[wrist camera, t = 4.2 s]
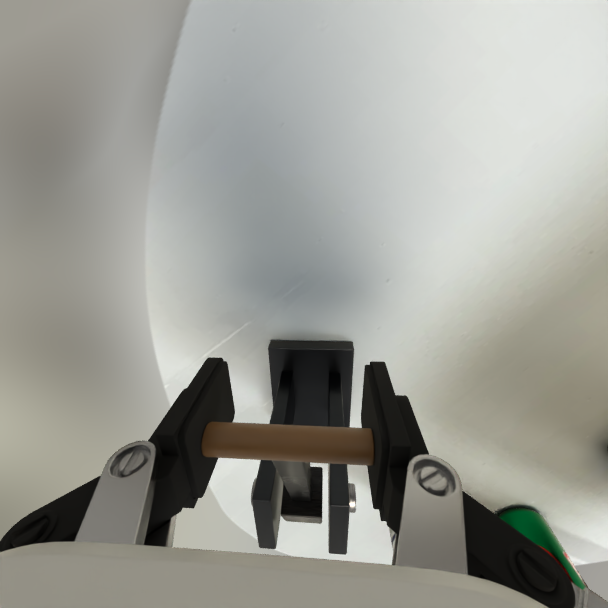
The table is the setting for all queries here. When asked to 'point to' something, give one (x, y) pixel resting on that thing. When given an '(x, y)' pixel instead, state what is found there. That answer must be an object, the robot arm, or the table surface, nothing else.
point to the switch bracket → (308, 412)
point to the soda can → (542, 538)
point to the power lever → (292, 456)
